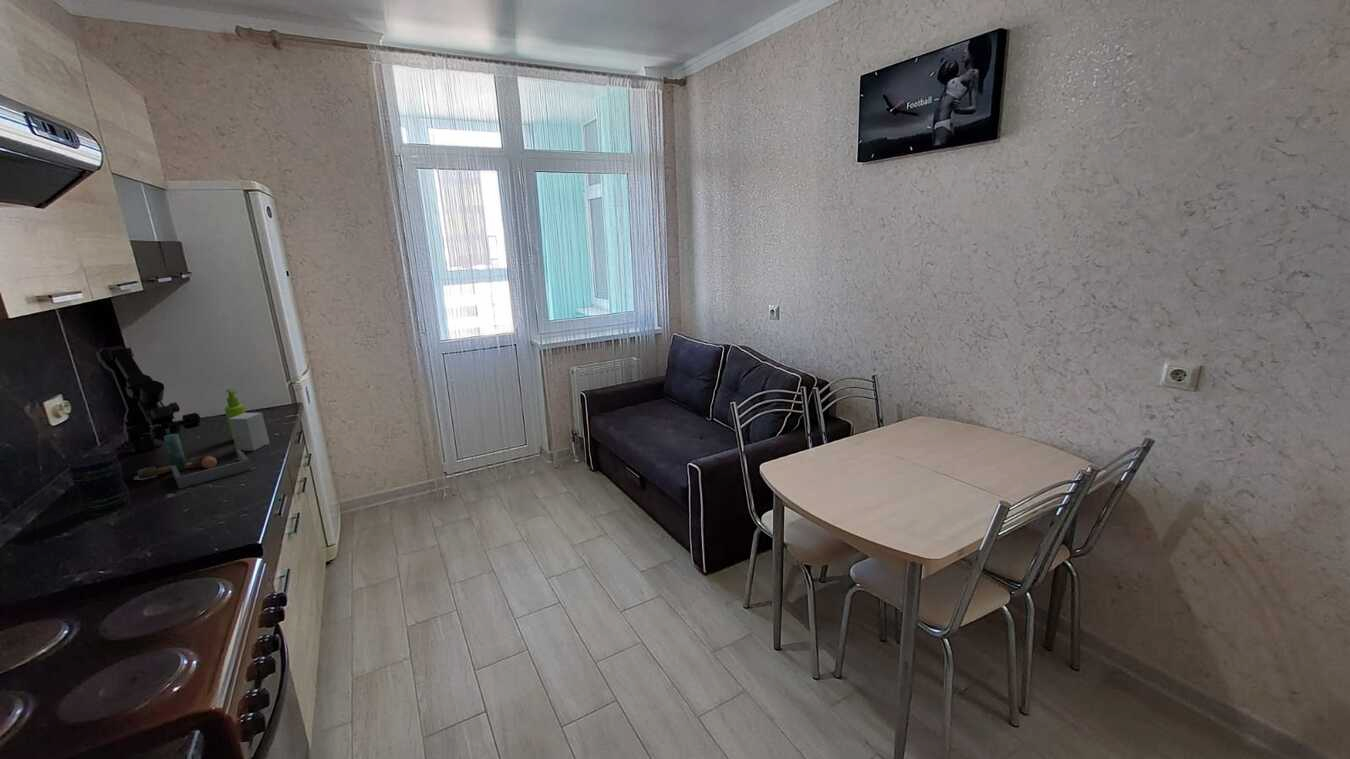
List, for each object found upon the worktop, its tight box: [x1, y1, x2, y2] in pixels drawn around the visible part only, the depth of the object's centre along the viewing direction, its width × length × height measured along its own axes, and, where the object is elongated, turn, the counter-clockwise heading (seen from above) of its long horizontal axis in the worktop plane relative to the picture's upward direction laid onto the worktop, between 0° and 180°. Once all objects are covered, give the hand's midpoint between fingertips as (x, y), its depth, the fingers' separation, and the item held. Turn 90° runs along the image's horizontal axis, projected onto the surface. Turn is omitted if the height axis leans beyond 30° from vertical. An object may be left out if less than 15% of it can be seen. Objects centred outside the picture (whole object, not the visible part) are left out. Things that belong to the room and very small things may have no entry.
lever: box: [136, 433, 211, 478], centre depth 180 cm, size 19×4×12 cm, turn 124°
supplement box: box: [227, 412, 270, 452], centre depth 199 cm, size 7×7×13 cm
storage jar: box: [67, 452, 132, 516], centre depth 155 cm, size 10×10×15 cm
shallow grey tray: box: [170, 450, 253, 489], centre depth 178 cm, size 15×18×4 cm
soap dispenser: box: [224, 388, 247, 440], centre depth 207 cm, size 6×7×20 cm
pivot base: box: [133, 473, 163, 481], centre depth 177 cm, size 7×7×1 cm
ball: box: [201, 456, 218, 470], centre depth 182 cm, size 4×4×4 cm
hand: (175, 446), depth 181 cm, fingers closed
